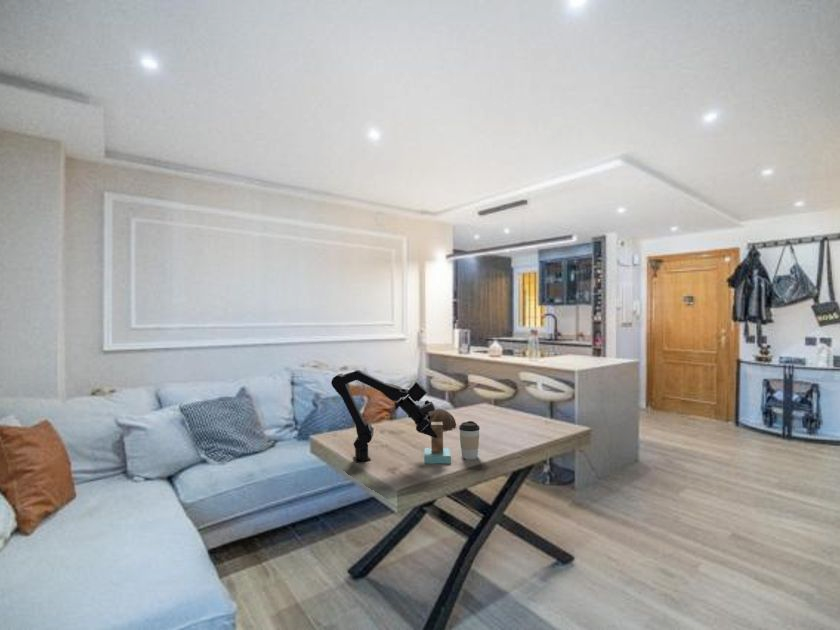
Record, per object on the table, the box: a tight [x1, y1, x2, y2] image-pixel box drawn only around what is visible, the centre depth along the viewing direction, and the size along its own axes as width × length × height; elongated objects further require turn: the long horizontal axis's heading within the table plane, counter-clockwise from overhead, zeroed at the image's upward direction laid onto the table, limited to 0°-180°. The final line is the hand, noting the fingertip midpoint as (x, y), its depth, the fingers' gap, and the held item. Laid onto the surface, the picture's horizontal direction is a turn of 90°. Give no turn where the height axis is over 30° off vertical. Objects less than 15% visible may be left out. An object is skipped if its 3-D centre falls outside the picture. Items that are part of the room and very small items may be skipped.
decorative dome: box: [427, 408, 457, 431], centre depth 236 cm, size 19×20×10 cm
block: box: [430, 422, 444, 454], centre depth 182 cm, size 5×5×12 cm
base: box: [424, 447, 452, 464], centre depth 182 cm, size 11×11×3 cm
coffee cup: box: [459, 420, 480, 460], centre depth 184 cm, size 9×9×15 cm
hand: (436, 434), depth 182 cm, fingers open, 9 cm apart
